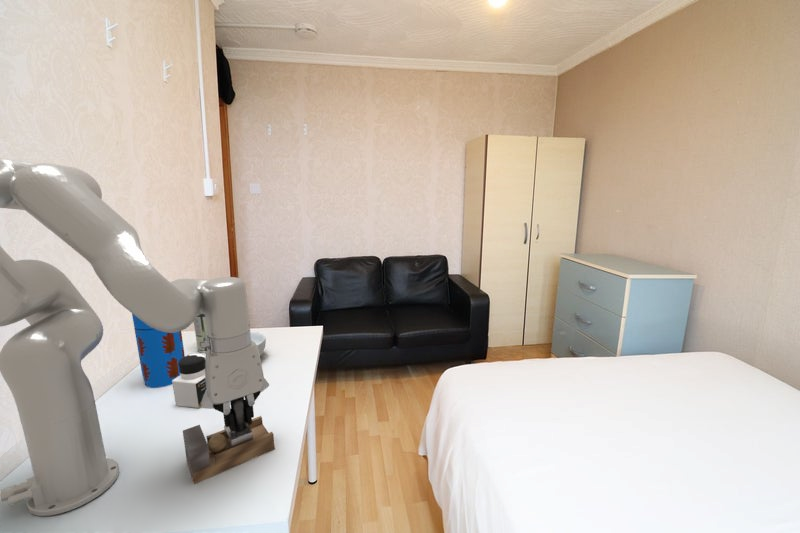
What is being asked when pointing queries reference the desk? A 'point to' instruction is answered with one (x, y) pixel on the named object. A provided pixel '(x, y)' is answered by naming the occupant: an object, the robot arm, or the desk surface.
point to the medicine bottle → (190, 381)
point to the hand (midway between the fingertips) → (239, 424)
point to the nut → (217, 443)
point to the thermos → (158, 354)
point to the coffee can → (200, 331)
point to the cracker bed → (214, 463)
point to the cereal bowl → (259, 341)
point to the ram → (238, 425)
